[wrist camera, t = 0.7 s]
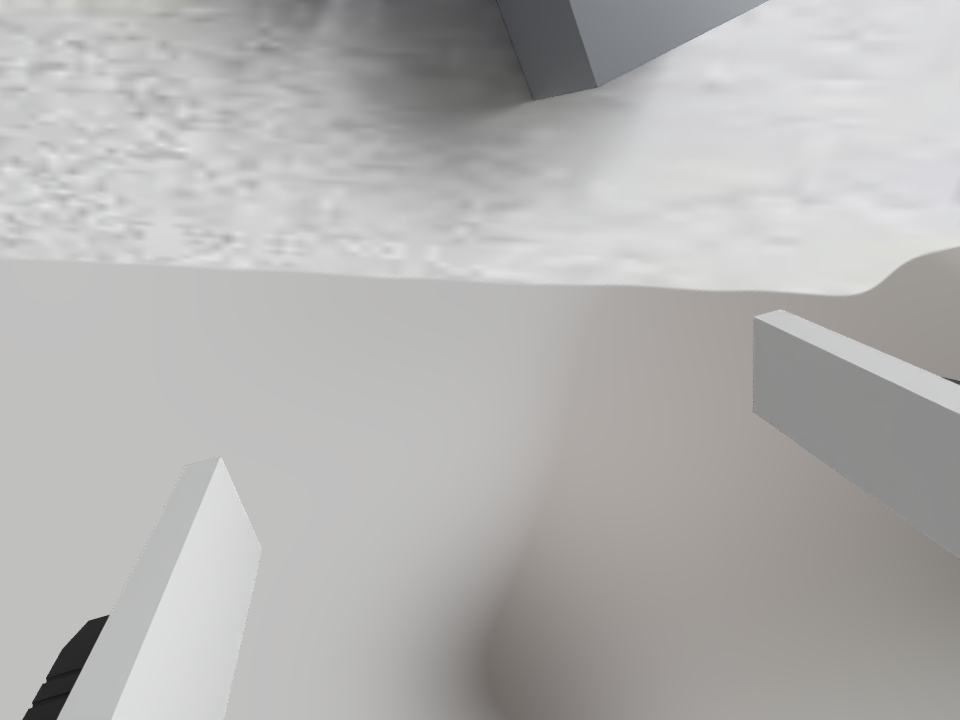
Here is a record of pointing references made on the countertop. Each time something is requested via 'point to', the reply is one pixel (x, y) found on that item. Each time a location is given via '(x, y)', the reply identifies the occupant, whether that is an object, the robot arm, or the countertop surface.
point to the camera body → (603, 36)
